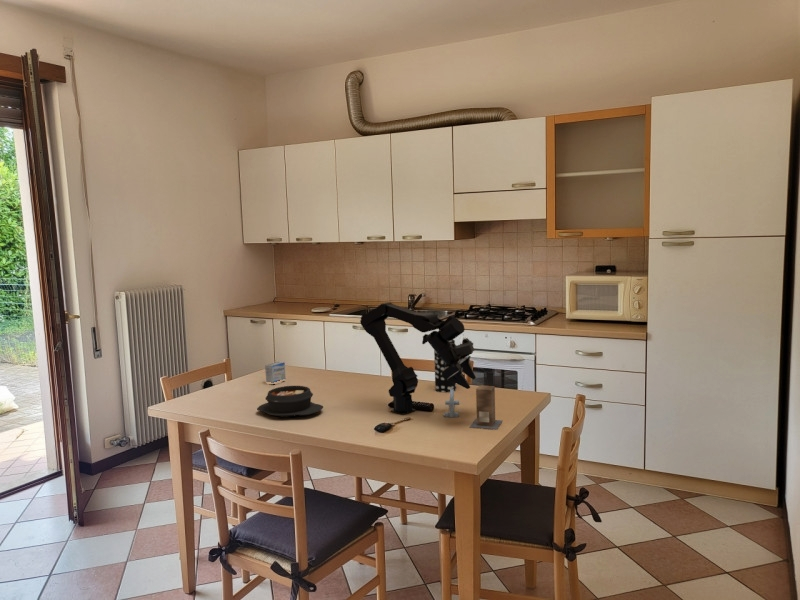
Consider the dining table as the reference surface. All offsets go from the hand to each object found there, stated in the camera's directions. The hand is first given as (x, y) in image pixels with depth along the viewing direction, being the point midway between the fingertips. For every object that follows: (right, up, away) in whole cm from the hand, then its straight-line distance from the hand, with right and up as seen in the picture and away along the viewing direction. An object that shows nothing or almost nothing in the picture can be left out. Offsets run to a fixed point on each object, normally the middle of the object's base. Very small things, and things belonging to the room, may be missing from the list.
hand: (472, 383), depth 201 cm
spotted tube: (-6, -9, +41) cm, 42 cm away
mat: (+4, -13, -5) cm, 14 cm away
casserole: (-64, -13, +17) cm, 68 cm away
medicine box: (-79, -9, +64) cm, 102 cm away
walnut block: (+4, -13, -5) cm, 14 cm away
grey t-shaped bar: (-6, -11, +13) cm, 18 cm away
